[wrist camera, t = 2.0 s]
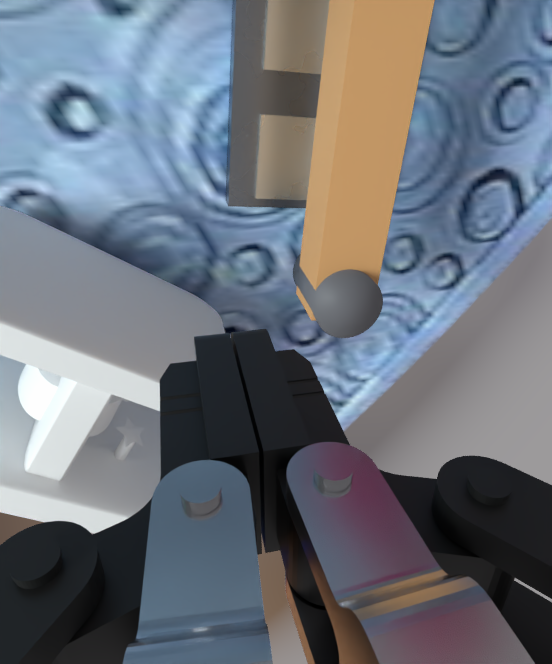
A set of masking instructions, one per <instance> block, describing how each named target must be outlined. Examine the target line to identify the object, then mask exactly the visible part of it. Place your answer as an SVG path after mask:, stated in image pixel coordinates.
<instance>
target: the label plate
mask: <svg viewBox="0 0 552 664" xmlns="http://www.w3.org/2000/svg"><path fill="white" fill-rule="evenodd" d="M329 2H330V0H233V7H232V36H231V65H230V94H229V123H228V152H227V180H226V202H227V204H228V206H243V207H283V208H306V203H307V194H308V186H309V177H310V168H311V159H312V151H313V142H314V133H315V124H316V116H317V107H318V98H319V89H320V80H321V72H322V63H323V54H324V45H325V37H326V28H327V19H328V10H329Z"/></svg>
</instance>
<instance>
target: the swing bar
mask: <svg viewBox="0 0 552 664" xmlns="http://www.w3.org/2000/svg"><path fill="white" fill-rule="evenodd" d="M434 1H435V0H330V2H329V10H328V19H327V28H326V37H325V45H324V54H323V63H322V72H321V80H320V89H319V98H318V107H317V116H316V124H315V133H314V142H313V151H312V159H311V168H310V177H309V186H308V194H307V203H306V212H305V221H304V229H303V238H302V247H301V254H300V255H299V256H298V258H297V259H296V262H295V264H294V268H293V278H294V282H295V284H296V286H297V291H296V294H297V295H298V297H299V299H300V301H301V303H302V304H303V306H304V308H305V310H306V312H307V313H308V315H309V317H310V319H311V321H314V320H317V322H318V324H319V326H320V327H321V328H322V330H323V331H325V332H326V333H327V334H329V335H331V336H334V337H338V338H349V337H353V336H356V335H359V334H361V333H363V332H364V331H366V330H367V329H369V328H370V327H371V326H372V325H373V324H374V323H375V321H376V320H377V318H378V317H379V315H380V312H381V309H382V304H383V298H382V293H381V290H380V288H379V287H378V280H379V275H380V270H381V265H382V260H383V255H384V250H385V245H386V240H387V235H388V230H389V225H390V220H391V215H392V210H393V205H394V200H395V195H396V190H397V185H398V180H399V175H400V170H401V165H402V160H403V155H404V150H405V145H406V140H407V135H408V130H409V125H410V120H411V115H412V110H413V106H414V101H415V96H416V91H417V86H418V81H419V76H420V71H421V66H422V61H423V56H424V51H425V46H426V41H427V36H428V31H429V26H430V21H431V16H432V11H433V6H434Z"/></svg>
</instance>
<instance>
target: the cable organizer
mask: <svg viewBox="0 0 552 664" xmlns="http://www.w3.org/2000/svg"><path fill="white" fill-rule="evenodd" d="M223 333H225V331H224V326H223V322H222V319H221V317H220V315H219V314H218V313H217V312H216V311H215V310H214V309H213V308H212V307H211V306H210V305H209V304H207V303H206V302H205V301H203V300H202V299H200V298H199V297H197V296H195V295H193V294H192V293H190V292H188V291H185V290H183V289H181V288H179V287H177V286H175V285H173V284H171V283H169V282H167V281H165V280H162V279H160V278H158V277H156V276H154V275H152V274H150V273H148V272H146V271H144V270H142V269H139V268H137V267H135V266H133V265H131V264H129V263H127V262H125V261H123V260H121V259H119V258H116V257H114V256H112V255H110V254H108V253H106V252H104V251H102V250H100V249H98V248H96V247H94V246H91V245H89V244H87V243H85V242H83V241H81V240H79V239H77V238H75V237H73V236H71V235H68V234H66V233H64V232H62V231H60V230H58V229H56V228H54V227H52V226H50V225H48V224H45V223H43V222H41V221H39V220H37V219H35V218H33V217H31V216H29V215H26V214H24V213H21V212H19V211H16V210H13V209H10V208H7V207H3V206H0V512H2V513H6V514H11V515H15V516H20V517H24V518H28V519H33V520H37V521H42V522H51V521H68V522H73V523H76V524H79V525H81V526H83V527H84V528H86V529H87V530H88V531H89V532H91V533H97V532H100V531H102V530H104V529H106V528H109V527H111V526H113V525H115V524H118V523H120V522H122V521H124V520H126V519H128V518H129V517H131V516H132V515H134V514H135V513H137V512H138V511H139V510H141V509H142V508H143V507H144V506H145V505H146V504H147V503H148V502H149V501H150V499H151V498H152V497H153V493H154V491H155V488H156V487H157V485H158V484H159V482H160V476H161V453H160V379H161V377H162V375H163V374H164V372H165V371H166V369H167V368H168V366H169V365H170V364H171V363H180V362H188V361H196V355H195V345H194V337H195V336H204V335H214V334H223Z"/></svg>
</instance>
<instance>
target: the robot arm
mask: <svg viewBox="0 0 552 664" xmlns="http://www.w3.org/2000/svg"><path fill="white" fill-rule="evenodd" d="M194 345H195V355H196V361H188V362H180V363H171V364H170V365H169V366H168V368H167V369H166V371H165V372H164V374H163V375H162V377H161V379H160V453H161V476H160V482H159V484H158V485H157V487H156V488H155V491H154V493H153V497H152V498H151V499H150V501H149V502H148V503H147V504H146V505H145V506H144V507H143V508H142V509H141V510H139V511H138V512H137V513H135V514H134V515H132V516H131V517H129V518H128V519H126V520H124V521H122V522H120V523H118V524H115V525H113V526H111V527H109V528H106V529H104V530H102V531H100V532H97V533H95V534H93V535H92V534H91V533H90V532H89V531H88V530H87V529H86V528H84V527H83V526H81V525H79V524H76V523H73V522H68V521H51V522H45V523H41V524H37V525H34V526H32V527H29V528H27V529H24V530H23V531H21V532H19V533H17V534H15V535H14V536H12V537H11V538H9V539H8V540H6V542H4V543H3V544H1V545H0V664H273V663H272V654H271V646H270V639H269V632H268V627H267V624H266V623H265V618H264V610H263V601H262V592H261V583H260V574H259V565H258V556H257V555H258V554H262V544H261V534H262V538H263V543H264V547H265V552H266V553H267V552H273V551H278V550H280V551H281V555H282V559H283V563H284V567H285V591H286V596H287V600H288V603H289V606H290V609H291V612H292V616H293V619H294V622H295V625H296V628H297V631H298V634H299V638H300V641H301V644H302V647H303V650H304V653H305V656H306V659H307V662H308V664H552V603H551V602H550V601H548V600H547V599H545V598H543V597H541V596H540V595H538V594H536V593H534V592H533V591H531V590H530V589H528V588H526V587H524V586H523V585H521V584H519V583H518V582H516V581H514V578H517V579H518V580H520V581H522V582H524V583H525V584H527V585H529V586H530V587H532V588H534V589H536V590H537V591H539V592H541V593H543V594H544V595H546V596H548V597H550V598H551V599H552V485H550V484H548V483H545V482H543V481H541V480H539V479H537V478H535V477H533V476H530V475H528V474H526V473H524V472H522V471H520V470H517V469H515V468H513V467H511V466H508V465H507V464H504V463H502V462H499V461H497V460H494V459H490V458H487V457H481V456H462V457H457V458H455V459H452V460H450V461H449V462H447V463H445V464H444V465H443V466H442V467H441V469H440V471H439V473H438V477H437V479H430V478H422V477H412V476H402V475H395V474H391V473H388V472H384V471H382V470H379V469H378V468H377V466H376V465H375V463H374V462H373V461H372V459H371V458H370V457H369V456H367V455H366V454H365V453H364V452H362V451H361V450H359V449H357V448H355V447H352V446H350V444H349V442H348V440H347V438H346V436H345V434H344V432H343V430H342V428H341V426H340V423H339V421H338V419H337V417H336V415H335V413H334V411H333V409H332V407H331V405H330V403H329V401H328V398H327V396H326V394H324V390H323V388H322V386H321V384H320V382H319V381H318V378H317V376H316V373H315V371H314V369H313V367H312V365H311V363H310V362H309V361H308V360H307V359H306V358H304V357H303V356H302V355H300V354H299V353H298V352H296V351H295V350H294V349H293V350H284V351H275V349H274V347H273V344H272V342H271V339H270V336H269V334H268V331H267V330H266V329H260V330H251V331H241V332H232V333H231V338H230V335H229V333H223V334H214V335H204V336H195V337H194Z"/></svg>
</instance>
